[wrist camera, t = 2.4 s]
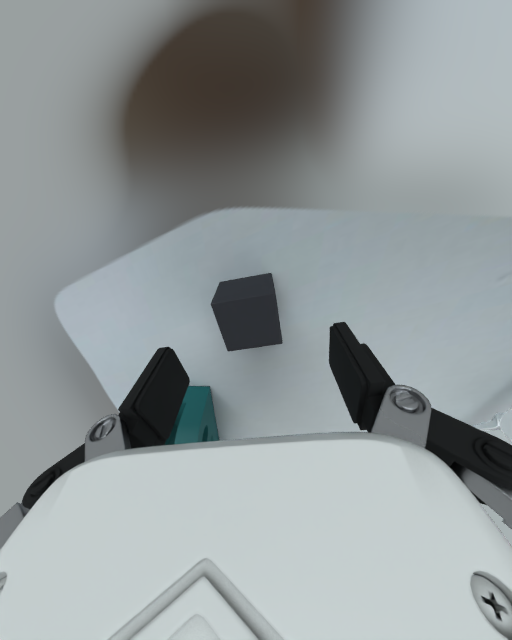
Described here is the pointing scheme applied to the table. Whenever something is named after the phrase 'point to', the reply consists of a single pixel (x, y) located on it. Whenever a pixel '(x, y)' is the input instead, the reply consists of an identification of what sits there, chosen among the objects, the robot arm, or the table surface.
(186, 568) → the robot arm
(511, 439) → the llama figurine
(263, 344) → the dark grey cube
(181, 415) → the bracket
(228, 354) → the table surface
